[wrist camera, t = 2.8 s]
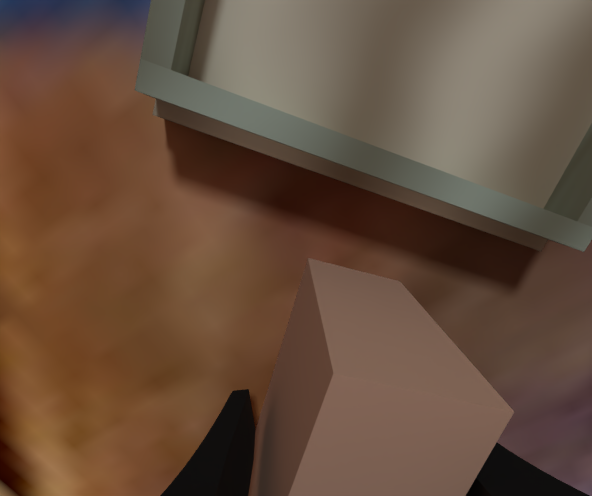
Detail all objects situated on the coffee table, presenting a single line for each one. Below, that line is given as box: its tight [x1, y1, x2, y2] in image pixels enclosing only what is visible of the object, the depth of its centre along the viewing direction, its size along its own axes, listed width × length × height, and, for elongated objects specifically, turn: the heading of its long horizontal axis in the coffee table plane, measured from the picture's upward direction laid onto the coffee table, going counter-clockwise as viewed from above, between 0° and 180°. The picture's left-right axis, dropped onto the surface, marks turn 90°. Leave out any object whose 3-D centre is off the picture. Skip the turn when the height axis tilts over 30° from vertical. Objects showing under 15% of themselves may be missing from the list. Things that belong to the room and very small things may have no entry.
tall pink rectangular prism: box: [248, 258, 514, 496], centre depth 11 cm, size 4×10×7 cm, turn 164°
